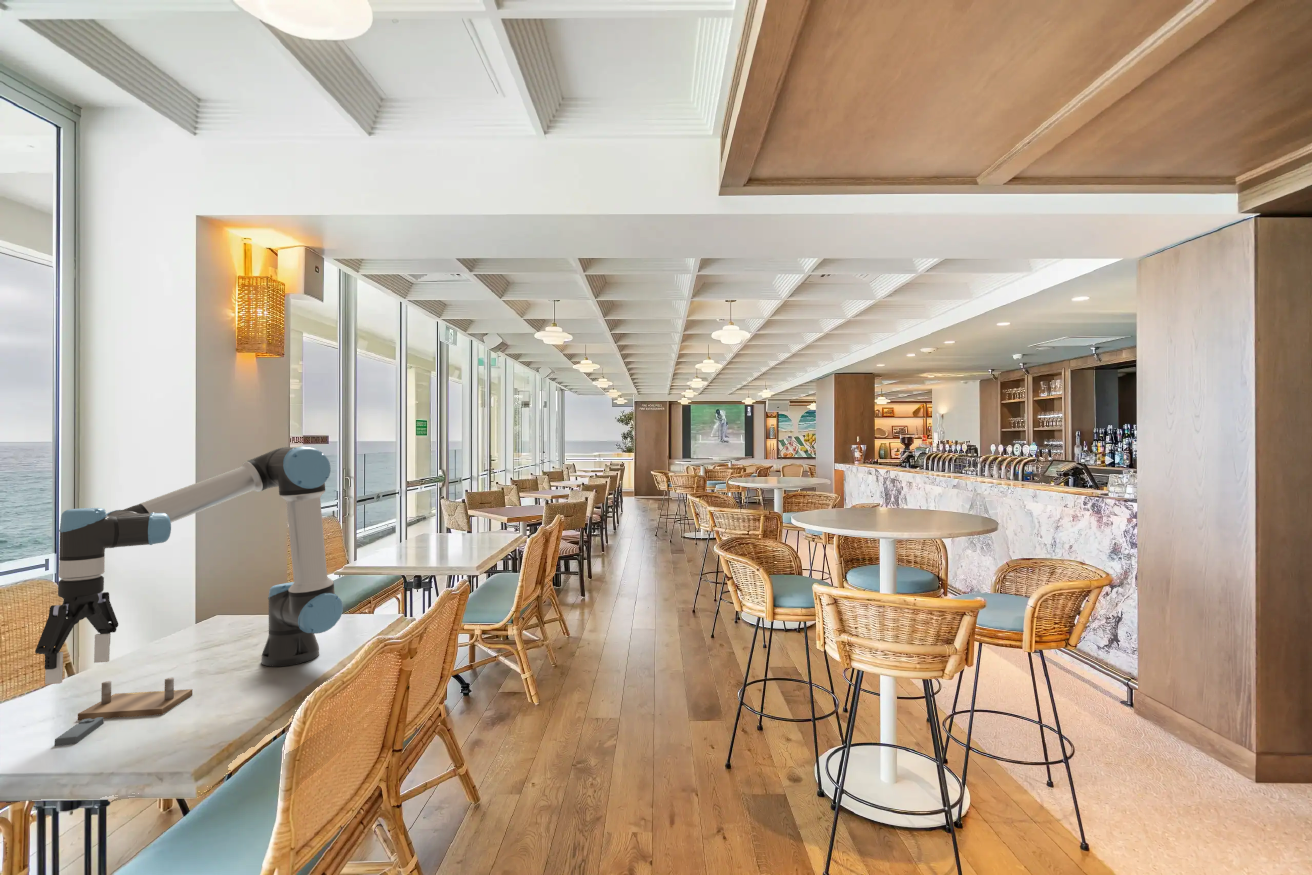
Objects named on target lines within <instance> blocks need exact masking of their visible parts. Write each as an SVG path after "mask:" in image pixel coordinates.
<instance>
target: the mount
mask: <svg viewBox="0 0 1312 875" xmlns="http://www.w3.org/2000/svg"><path fill="white" fill-rule="evenodd" d="M100 691H101V696H100V698H101V700H100V701H99V702H97V703H95V704H93V705H91V706H90V707H88V708H86V709H84V710H82V711H80V712H79V713H77V721H82V720H83V719H88V718H91V719H95V718H98V717H103V718H104V720H105V719H117V718H133V717H134V718H135V717H149V716H151V717H152V716H162V715H164V714H166V713H168V712H169V711H170V710H172V709H173V708H175V707H176V706H179V704H181V703H183V702H185V701H186V700H188V699H189V698H190V697H192V696H193V689H192V688H190V689H175V678H174V677H167V678H165V679H164V690H156V691H153V690H152V691H140V692H122V693H113V694H112V681H111V680H108V681H103V682H101V690H100Z"/></svg>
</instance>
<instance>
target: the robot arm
mask: <svg viewBox="0 0 1312 875" xmlns="http://www.w3.org/2000/svg"><path fill="white" fill-rule="evenodd" d="M330 474H331V463H330V461H329V459H328V456H327V455H325V453H323V452H322V451H320V450H319V449H317V448H314V447H308V446H294V447H291V446H285V447H279V448H276V449H273V450H271V451H268V452H266V453H264V454H261V455H259V456H256V457H254V458H251V459H248V460H246V461H244V462H242V465H241V466H240V467H236V468H234V469H232V470H228V471H226V472H224V473H220V474H217V475H215V476H212V477H210V478H207V479H203V480H201V481H198V482H196V483H193V484H190V485H188V486H185V487H183V488H179V489H177V490H173V491H171V492H168V493H165V494H162V495H160V496H157V497H154V498H151V499H148V500H146V501H143V502H141V503H139V504H136V505H132V506H129V507H127V508H124V509H115V510H112V511H109V512H107V511H106V509H105V508H102V507H85V508H84V507H81V508H69V509H66V510H65V511H63V512H62V513H61V517H60V524H59V525H60V526H59V530H58V533H59V548H58V549H59V557H58V558H59V559H58V560H59V563H58V577H59V578H60V579H59V581H58V583H57V596H58V597H59V598H62V600H63V601H62V604H59V605H58V604H53V605H51V606H49V609H48V610H49V611H48V618H47V620H46V621H45V622H46V623H45V625H44V628H43V630H42V632H41V635H40V637H39V640H38V642H37V645H36V647H35V651H34V654H37V655H38V654H39V655H44V670H45V674H44V677H45V678H44V684H45V685H55V684H56V685H57V684H62V683H63V671H64V670H63V668H64V651H61V649H62V648H63V646H64V644H65V643H66V641H67V639H68V637H69V635H70V634H71V631H72V630H73V628H74V626H75V625H76V624H78V623H79V622H80V621H82V620H83V619H85V618H86V620H87V621H88V622H89V623H90V624H91V625H92V627H93V628H94V629H95V631H96V632H97V633H95V634H94V654H93V657H94V658H93V663H94V664H95V663H99V664H100V663H108V662H110V651H111V650H110V649H111V648H110V646H111V633H116V632H117V628H118V626H119V622H118V619H117V617H116V614H115V612H114V609H113V606H112V603H111V600H110V592H108V591H107V592H106V591H104V589H105V587H104V586H105V577H104V576H103V575H102V574H104V573H105V558H106V557H105V556H106V554H105V552H106V549H114V548H125V547H135V546H136V547H137V546H146V545H147V546H152V545H156V544H157V545H158V544H162V543H166V542H167V541H168V540H169V539H170V537H171V533H172V532H171V531H172V523H174V522H177V521H179V520H182V519H184V518H186V517H190V516H191V515H194V514H197V513H199V512H202V511H205V510H206V509H209V508H212V507H214V506H217V505H220V504H222V503H225V502H227V501H230V500H232V499H235V498H238V497H240V496H243V495H245V494H247V493H250V492H253V491H254V492H258V493H259V492H262V491H263V492H264V491H266V490H268V489H271V488H277V487H278V495H279V497H280V498H281V499H283V500H284V501H285V502H286V514H287V524H288V535H289V543H290V544H289V546H290V554H291V555H290V556H291V564H292V576H293V578H292V579H293V581H291V582H284V583H280V584H275V585H272V586H271V587H270V588H269V591H268V598H267V599H268V636H267V640H266V641H265V645H264V648H263V650H262V653H261V661H260V662H261V665H263V666H266V667H285V666H294V665H299V664H303V663H306V662H309V661H311V660H314V659H315V658H317V657H318V656H319V655H320V646H319V643H318V641H317V638H316V635H315V634H322V633H326V632H327V631H329V630H331V629H332V628H333V627H335V626H336V624H337V623H338V621H340V619H341V617H342V615H343V611H344V604H343V601H342V598H340V597H339V596H338V594H336V593H335V592H336V591H335V582H334V580H332V579H331V578H329V577H328V569H327V558H326V550H325V549H326V547H325V536H324V526H323V524H324V523H323V514H322V503H321V497H322V495H324V494H325V492H326V484H325V483H326V482H327V480H328V479H329V477H330ZM106 512H107V513H106Z"/></svg>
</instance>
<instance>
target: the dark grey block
mask: <svg viewBox="0 0 1312 875" xmlns="http://www.w3.org/2000/svg"><path fill="white" fill-rule="evenodd" d="M104 720H105V719H104V718H103V717H98V718H95V719H91V718H88V719H83V720H80V721H79V722H78V723H76V724H75V725H73V726H71V728H69V729H68V730H67V731H65V732H63V733H62V734H60V735H59V736H58V737H56V738H55V739H54V747H59V746H60V747H61V746H67V745H75V744H78V743H79V742H80V741H82V740H83V739H85V738H86V737H88V736H89V735H90V734H91V733H93V732H95V731H96V730H97V729H99V727H101V726H102V725H103V724H104V723H105V722H104Z"/></svg>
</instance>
